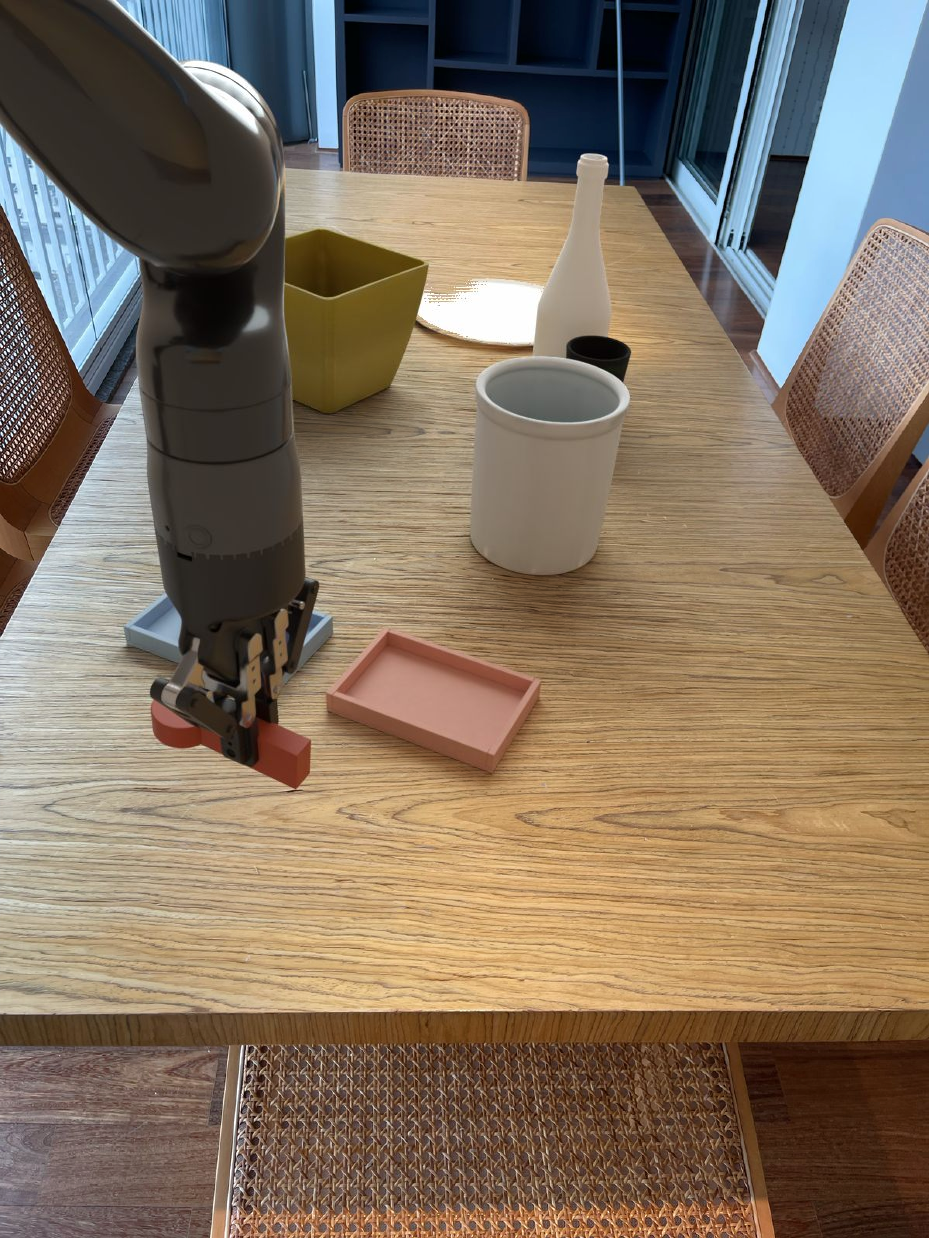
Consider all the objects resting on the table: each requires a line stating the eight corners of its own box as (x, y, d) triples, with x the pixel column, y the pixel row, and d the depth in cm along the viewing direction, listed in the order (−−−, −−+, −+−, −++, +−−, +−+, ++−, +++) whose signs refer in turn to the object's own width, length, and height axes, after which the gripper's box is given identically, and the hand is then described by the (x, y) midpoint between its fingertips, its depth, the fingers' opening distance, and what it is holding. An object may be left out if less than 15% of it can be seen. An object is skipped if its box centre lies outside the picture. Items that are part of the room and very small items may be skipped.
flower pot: (428, 386, 135) (433, 260, 125) (331, 433, 123) (328, 298, 112) (324, 346, 144) (321, 226, 133) (224, 387, 131) (212, 258, 121)
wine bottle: (610, 392, 137) (647, 157, 119) (578, 416, 131) (612, 171, 112) (550, 373, 141) (577, 143, 123) (515, 395, 134) (539, 156, 116)
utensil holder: (622, 575, 102) (652, 419, 91) (480, 585, 99) (494, 425, 89) (580, 501, 113) (603, 354, 103) (452, 508, 111) (461, 357, 100)
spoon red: (320, 761, 63) (322, 727, 61) (285, 803, 60) (285, 769, 58) (179, 695, 66) (177, 661, 64) (138, 732, 63) (134, 698, 61)
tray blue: (333, 633, 92) (332, 616, 91) (271, 699, 84) (269, 681, 83) (196, 585, 97) (194, 568, 95) (126, 643, 89) (122, 626, 88)
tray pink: (539, 697, 87) (541, 679, 85) (492, 773, 79) (494, 755, 78) (384, 643, 91) (384, 626, 90) (326, 710, 84) (325, 692, 83)
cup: (542, 435, 126) (553, 344, 118) (583, 419, 130) (596, 330, 123) (587, 459, 121) (601, 366, 114) (628, 442, 126) (644, 351, 118)
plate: (595, 293, 168) (596, 285, 167) (587, 361, 145) (588, 353, 144) (424, 274, 170) (424, 267, 170) (389, 338, 147) (389, 330, 147)
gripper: (245, 438, 57) (264, 668, 68) (77, 552, 48) (129, 801, 58) (359, 472, 55) (360, 704, 66) (207, 599, 45) (237, 849, 56)
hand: (251, 749), depth 62 cm, fingers closed on spoon red, 1 cm apart
